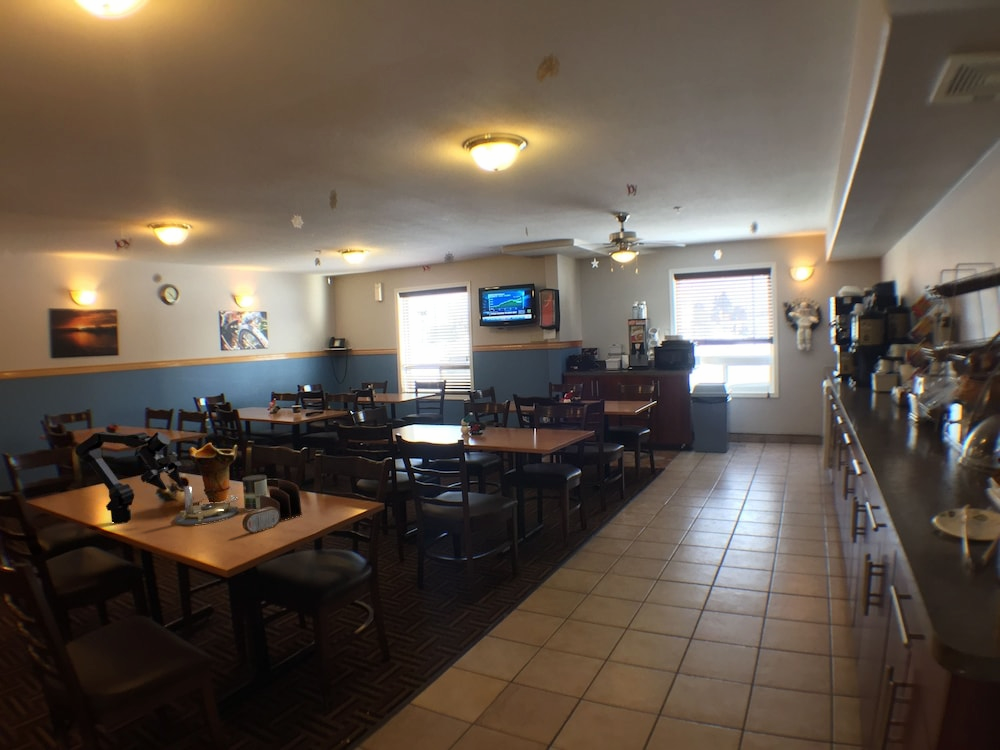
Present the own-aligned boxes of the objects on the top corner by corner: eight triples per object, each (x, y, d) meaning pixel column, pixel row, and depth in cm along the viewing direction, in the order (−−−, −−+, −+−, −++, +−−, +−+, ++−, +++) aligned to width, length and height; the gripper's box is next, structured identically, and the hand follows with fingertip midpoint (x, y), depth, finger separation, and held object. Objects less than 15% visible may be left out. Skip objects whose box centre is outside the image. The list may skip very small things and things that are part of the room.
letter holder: (282, 508, 268) (279, 477, 267) (302, 516, 254) (299, 483, 253) (260, 513, 261) (257, 482, 260) (279, 522, 247) (277, 488, 246)
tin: (278, 524, 244) (276, 503, 243) (282, 525, 242) (280, 505, 241) (242, 534, 232) (241, 513, 232) (246, 536, 230) (245, 514, 230)
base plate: (170, 529, 244) (170, 524, 244) (179, 513, 267) (178, 509, 267) (236, 519, 253) (236, 515, 253) (239, 505, 276) (239, 501, 276)
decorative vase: (227, 506, 274) (220, 446, 272) (183, 508, 278) (175, 449, 277) (253, 494, 294) (247, 438, 293) (212, 496, 298) (205, 441, 297)
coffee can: (243, 512, 264) (241, 481, 263) (245, 506, 273) (242, 476, 273) (268, 508, 267) (266, 478, 267) (268, 503, 277) (266, 473, 276)
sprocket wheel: (215, 503, 274) (213, 475, 273) (242, 508, 263) (240, 479, 262) (170, 515, 257) (167, 486, 256) (197, 521, 246) (194, 490, 245)
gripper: (149, 451, 244) (171, 481, 243) (179, 442, 262) (200, 471, 262) (130, 467, 245) (152, 497, 245) (162, 457, 264) (182, 485, 263)
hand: (173, 486), depth 254 cm, fingers open, 9 cm apart
